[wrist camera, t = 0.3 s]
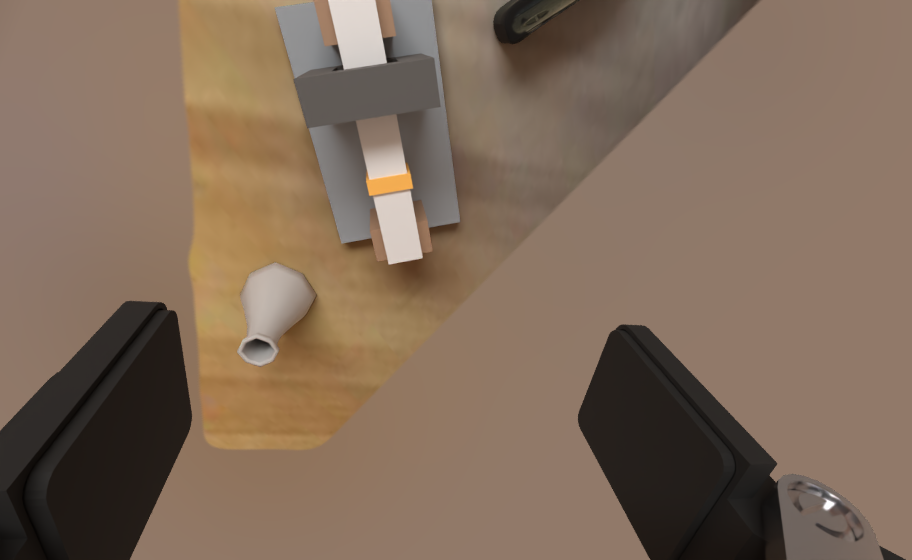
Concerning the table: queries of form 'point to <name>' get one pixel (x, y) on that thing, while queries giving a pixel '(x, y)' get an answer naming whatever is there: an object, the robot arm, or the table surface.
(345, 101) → the collar
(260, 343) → the flask
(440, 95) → the pipe stand
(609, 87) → the table surface
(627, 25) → the table surface
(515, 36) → the mobile phone
